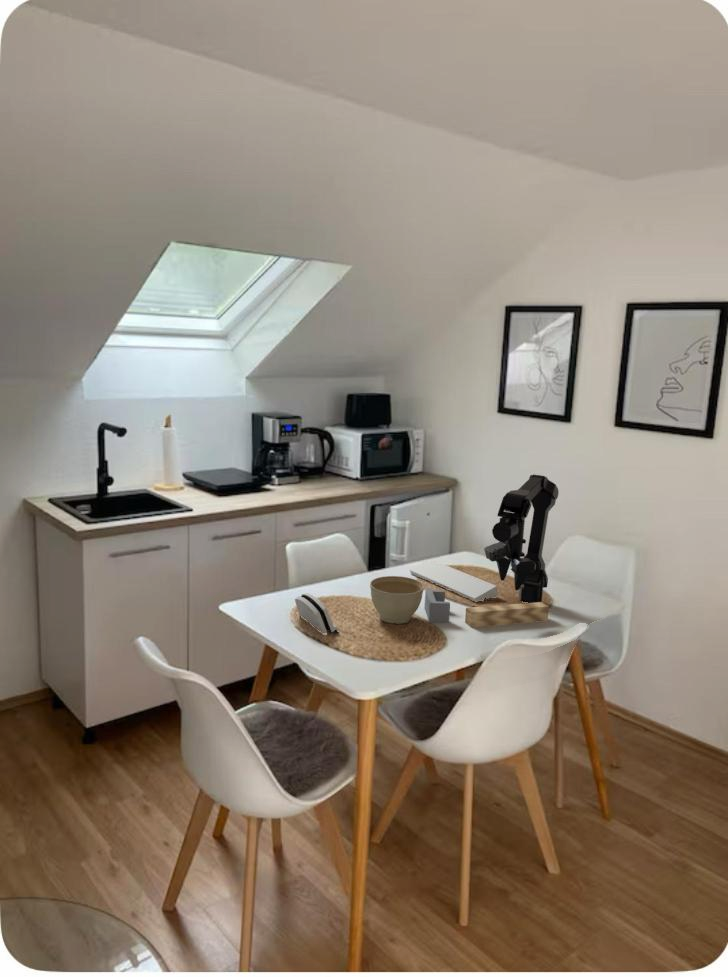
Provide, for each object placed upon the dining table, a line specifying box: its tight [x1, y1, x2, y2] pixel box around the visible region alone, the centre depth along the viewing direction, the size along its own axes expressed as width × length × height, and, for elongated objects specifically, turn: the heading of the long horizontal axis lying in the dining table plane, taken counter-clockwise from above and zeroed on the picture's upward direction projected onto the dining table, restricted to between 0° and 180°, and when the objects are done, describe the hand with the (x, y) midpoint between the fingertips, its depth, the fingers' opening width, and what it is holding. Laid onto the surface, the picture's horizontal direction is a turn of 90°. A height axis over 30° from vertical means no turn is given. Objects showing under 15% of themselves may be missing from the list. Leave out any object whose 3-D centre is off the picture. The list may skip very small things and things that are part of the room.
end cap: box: [424, 589, 451, 623], centre depth 231 cm, size 6×12×6 cm, turn 2°
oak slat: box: [464, 601, 550, 628], centre depth 228 cm, size 26×4×5 cm, turn 108°
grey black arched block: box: [294, 592, 340, 634], centre depth 218 cm, size 17×5×10 cm, turn 30°
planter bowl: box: [369, 575, 425, 625], centre depth 226 cm, size 16×16×11 cm
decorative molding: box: [409, 558, 499, 602], centre depth 260 cm, size 34×5×10 cm
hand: (509, 585), depth 226 cm, fingers open, 9 cm apart
